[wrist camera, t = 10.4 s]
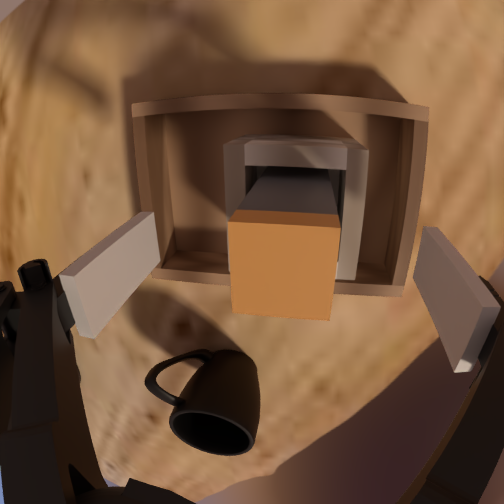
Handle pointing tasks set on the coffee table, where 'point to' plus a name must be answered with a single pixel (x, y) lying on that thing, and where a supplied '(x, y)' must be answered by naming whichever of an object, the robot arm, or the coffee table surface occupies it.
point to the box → (290, 155)
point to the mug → (214, 402)
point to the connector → (285, 245)
